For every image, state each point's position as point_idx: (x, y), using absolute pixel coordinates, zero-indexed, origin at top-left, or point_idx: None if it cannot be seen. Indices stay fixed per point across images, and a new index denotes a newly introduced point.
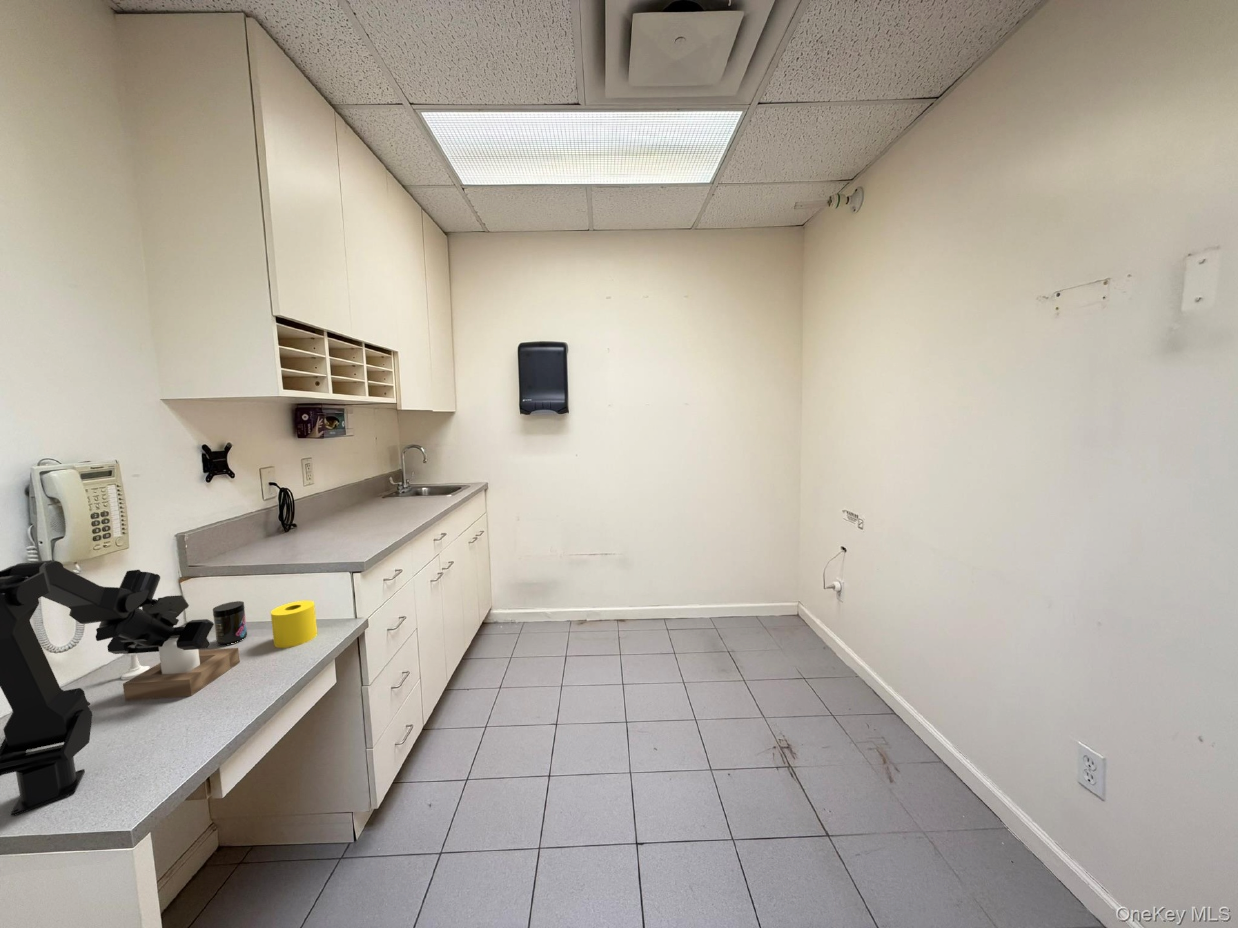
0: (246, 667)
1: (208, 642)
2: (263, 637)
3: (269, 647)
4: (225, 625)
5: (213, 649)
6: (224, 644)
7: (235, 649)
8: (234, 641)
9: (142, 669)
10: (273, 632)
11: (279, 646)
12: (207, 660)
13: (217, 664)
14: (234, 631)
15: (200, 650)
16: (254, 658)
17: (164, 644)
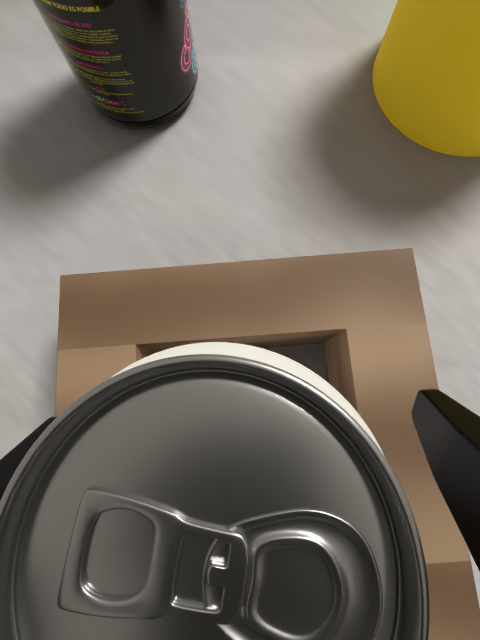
0: (458, 329)
1: (468, 416)
2: (276, 63)
3: (396, 151)
4: (127, 17)
5: (261, 262)
6: (148, 125)
7: (415, 269)
8: (182, 104)
9: None
10: (459, 76)
11: (456, 150)
12: (358, 401)
13: None
14: (174, 51)
15: (184, 269)
16: (417, 247)
17: None
